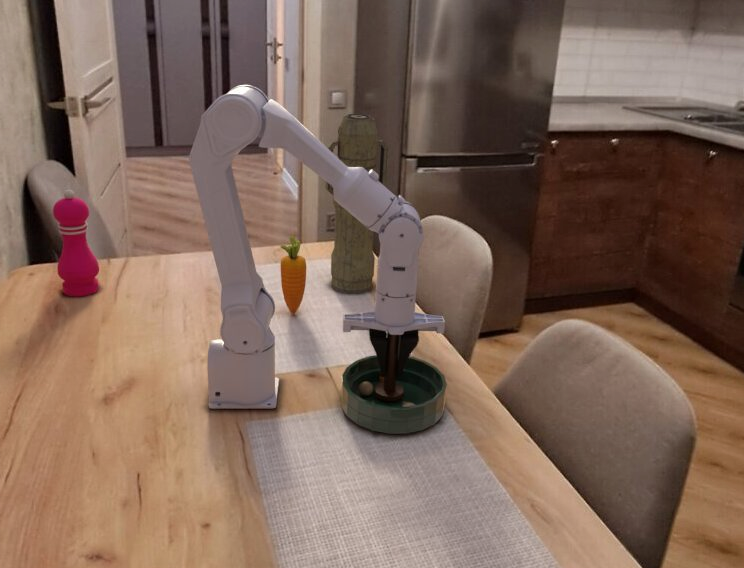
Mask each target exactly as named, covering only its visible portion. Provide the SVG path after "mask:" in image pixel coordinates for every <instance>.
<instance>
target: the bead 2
mask: <svg viewBox="0 0 744 568" xmlns="http://www.w3.org/2000/svg"><path fill="white" fill-rule="evenodd" d="M414 405H415V404H413V403H406V404H404V406H403V407H408V406H414Z"/></svg>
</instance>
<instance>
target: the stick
mask: <svg viewBox="0 0 744 568" xmlns="http://www.w3.org/2000/svg"><path fill="white" fill-rule="evenodd" d="M386 333H387V342H388V344H387V351H386V375H385V377H384V382H381V383H379V384H377V385H376V386H375V396H376V397H377V398H379V399H381V400H383V401H397V400H400V399H401V398H402V397H403V395H404V388H403V387H402V386H401V385H400V384H398V383H396V373H397V362H398V348H399V335H391V334H389V332H388V331H386Z"/></svg>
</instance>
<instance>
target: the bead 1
mask: <svg viewBox="0 0 744 568" xmlns="http://www.w3.org/2000/svg"><path fill="white" fill-rule="evenodd" d="M358 389H359V393H360V394H361V395H363V396H369V395H370V394H371V393H372V392H373V386H372V384H371V383H370V382H367V381H364V382H362V383H361V384H360V385H359V388H358Z"/></svg>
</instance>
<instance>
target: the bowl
mask: <svg viewBox="0 0 744 568" xmlns="http://www.w3.org/2000/svg"><path fill="white" fill-rule="evenodd" d="M364 381H367V382H370V383H371V384H372V386H373V392H372V393H371V394H370V395H369V396H363V395H361V394H360V393H359V389H358V388H359V385H360V384H361V383H362V382H364ZM379 383H381V382H380V366H379V361H378V358H377V355H376V354H373V355H368V356H365V357H362V358H359V359H357V360H355V361H354V362H352V363H351V364H349V365H348V366H347V367H345V369H344V371H343V373H342V375H341V395H340V403H341V404H340V405H341V406H340V407H341V409H342V410H343V412H344V414H345V415H346V417H347V418H348V419H350V420H351V421H352V422H354V423H355V424H356V425H358V426H361V427H362V428H365V429H367V430H371V431H373V432H378V433H379V432H380V433H384V434H393V435H394V434H411V433H415V432H420V431H422V430H425V429H427V428H430V427H431V426H434V425H436V423H437V422H438V421H440V419H441V418H442V417H443V415H444V412H445V408H446V398H447V389H448V382H447V380H446V376H445V375H444V373H443V372H442V371H441V370H440V369H439V368H438V367H437V366H435V365H434V364H432V363H430V362H429V361H426V360H423V359H421V358H418V357H415V356H411V355H410V356H409V358H408V360H407V362H406V364H405V366H404V369H403V372H402V376H401V377H397V376H396V383H398V384H400V385H401V386H402V387H403V388H404V395H403V397H402V398H401V399H400V400H397V401H383V400H381V399H379V398H377V397H376V396H375V386H376V385H377V384H379ZM406 403H413V404H415V405H414V406H408V407H403V406H404V404H406Z"/></svg>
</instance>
